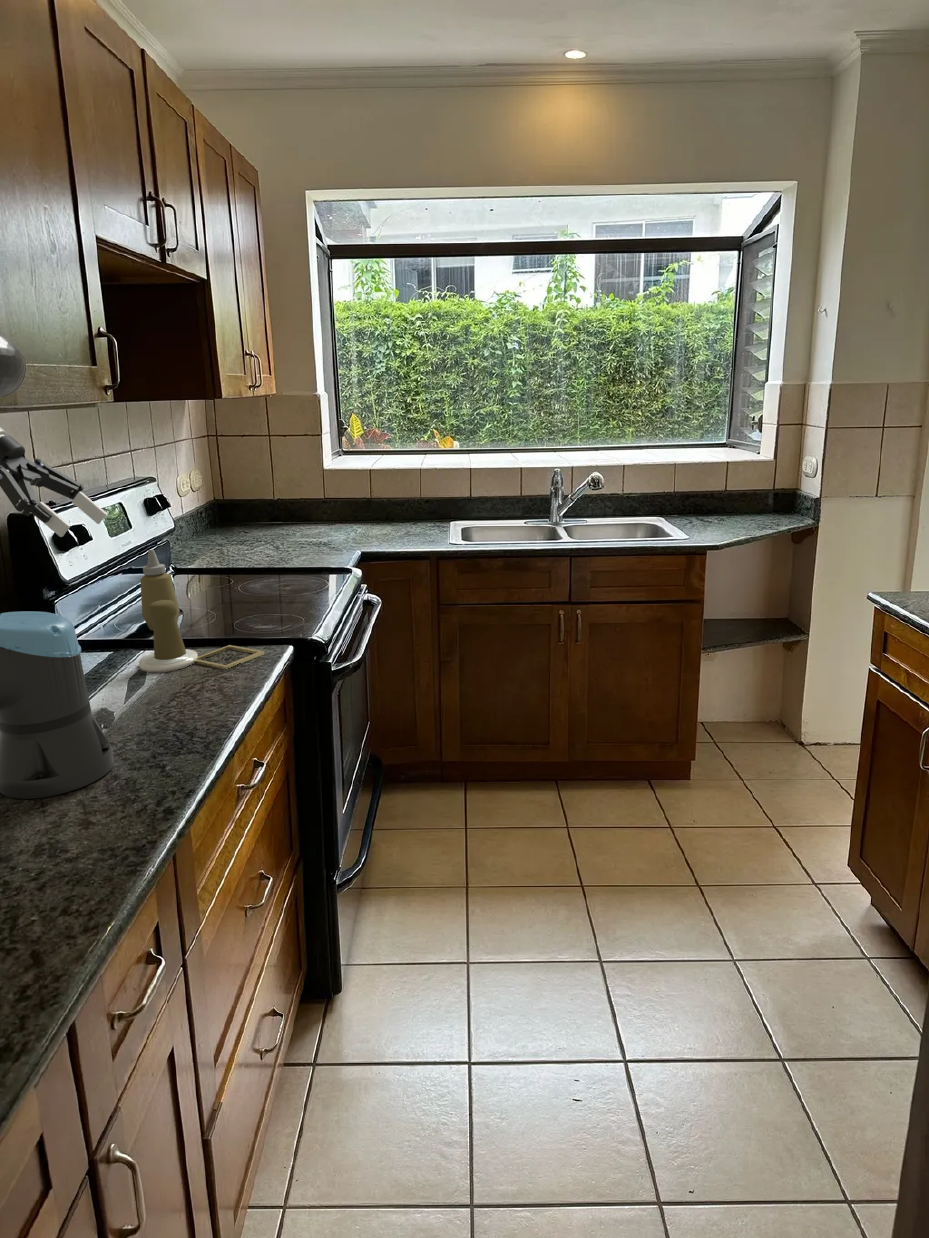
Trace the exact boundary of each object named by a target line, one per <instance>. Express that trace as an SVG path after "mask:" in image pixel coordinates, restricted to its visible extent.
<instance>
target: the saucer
mask: <svg viewBox="0 0 929 1238" xmlns="http://www.w3.org/2000/svg"><path fill="white" fill-rule="evenodd" d="M185 650H186V654H185V655H183V656H181V657H178V658H174V659H168V660H158V659H155V658H154V652H153V653H150V654H148V655H146V656H143V657H142V658H140V659H139V661H138V666H139V670H140V671H143V672H146V673H156V674H157V673H168V672H173V671H178V669H179V670H181V669H182V668H183V669H185V667H186V668H188V667H190V666H189V665H191V666H193V665H194V664H195V662H194V660H195V659H197V657H199V655H198V652H197V651H196V650H194V649H188V648H185ZM192 664H193V665H192ZM187 666H188V667H187ZM183 669H182V670H183Z"/></svg>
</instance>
